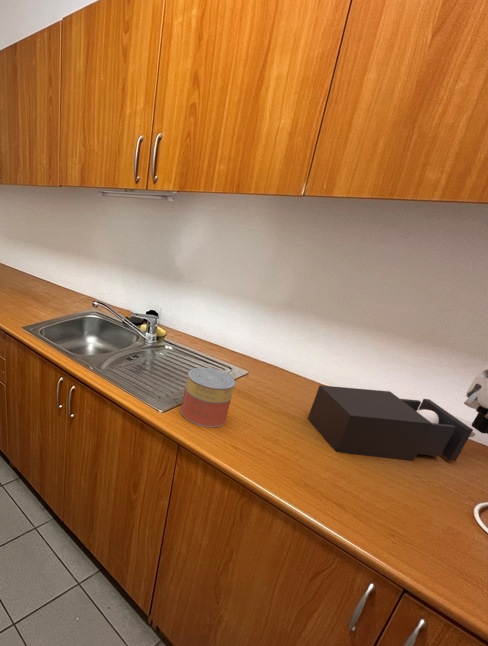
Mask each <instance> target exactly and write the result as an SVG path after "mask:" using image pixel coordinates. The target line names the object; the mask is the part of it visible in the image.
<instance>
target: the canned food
mask: <svg viewBox="0 0 488 646" xmlns="http://www.w3.org/2000/svg"><path fill="white" fill-rule="evenodd" d="M235 386H236V380H235V378H234V377H232V376H231V375H230V374H228V373H227V372H226V371H225V372H224V371H223V370H219V369H216V368H212V367H202V366H199V367H193V368H191V369H189V370H188V371H187V377H186V380H185V387H184V391H183V396H182V400H181V406H180V409H179V412H180V411H181V412H180V414H181V416H182V415H183V416H184V417H185V418H186V421H188V420H189V422H190V423H192V424H194V425H196V426H199V427H203V428H220V427H222V426H224V425H225V424H226V422H227V416H228V413H229V409H230V405H231V401H232V398H233V394H234V389H235ZM183 416H182V417H183ZM184 417H183V418H184ZM185 418H184V419H185Z"/></svg>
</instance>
